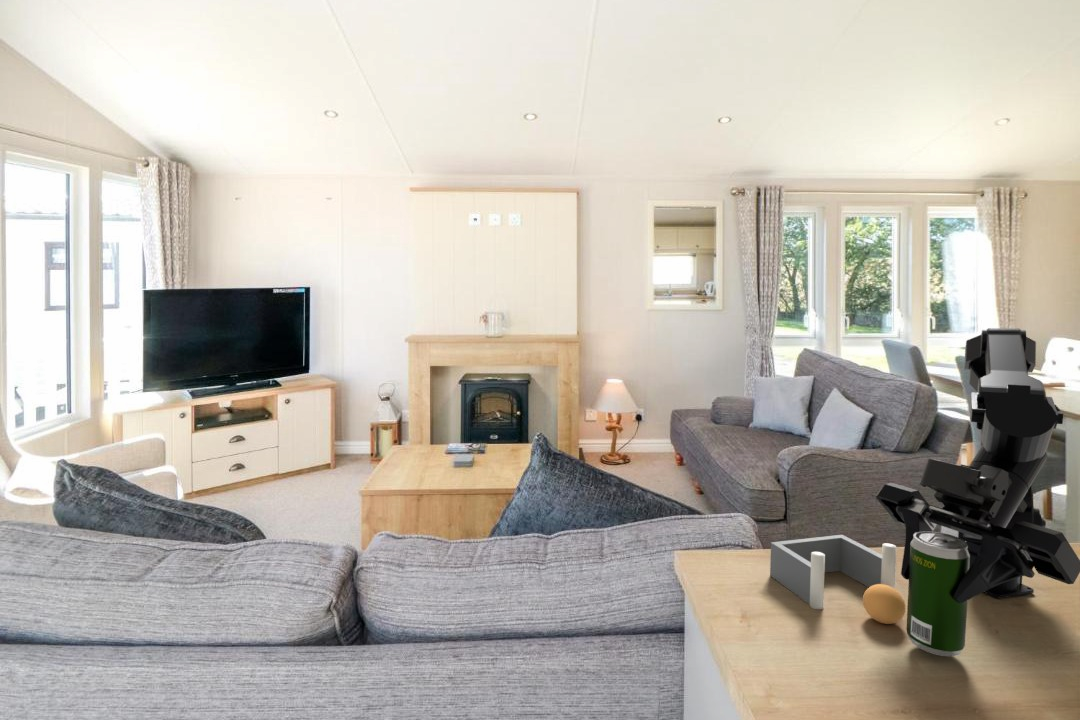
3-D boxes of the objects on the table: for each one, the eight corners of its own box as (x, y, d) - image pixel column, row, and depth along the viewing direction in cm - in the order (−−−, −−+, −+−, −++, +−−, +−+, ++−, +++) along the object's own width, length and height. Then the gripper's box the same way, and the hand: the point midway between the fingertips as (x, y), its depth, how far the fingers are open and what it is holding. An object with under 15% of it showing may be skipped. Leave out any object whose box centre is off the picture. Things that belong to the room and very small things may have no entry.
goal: (842, 566, 85) (844, 521, 85) (897, 598, 76) (899, 547, 75) (768, 576, 82) (769, 529, 82) (815, 610, 73) (817, 557, 72)
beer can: (951, 664, 60) (957, 554, 59) (896, 639, 64) (901, 537, 63) (973, 647, 63) (979, 542, 62) (919, 625, 67) (924, 526, 66)
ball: (883, 609, 73) (885, 575, 73) (913, 628, 69) (915, 592, 68) (853, 614, 72) (855, 579, 72) (882, 633, 68) (884, 597, 67)
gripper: (889, 419, 72) (821, 517, 68) (1073, 453, 54) (994, 587, 51) (928, 472, 75) (865, 568, 72) (1112, 520, 58) (1040, 649, 55)
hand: (929, 588), depth 62 cm, fingers closed on beer can, 5 cm apart
